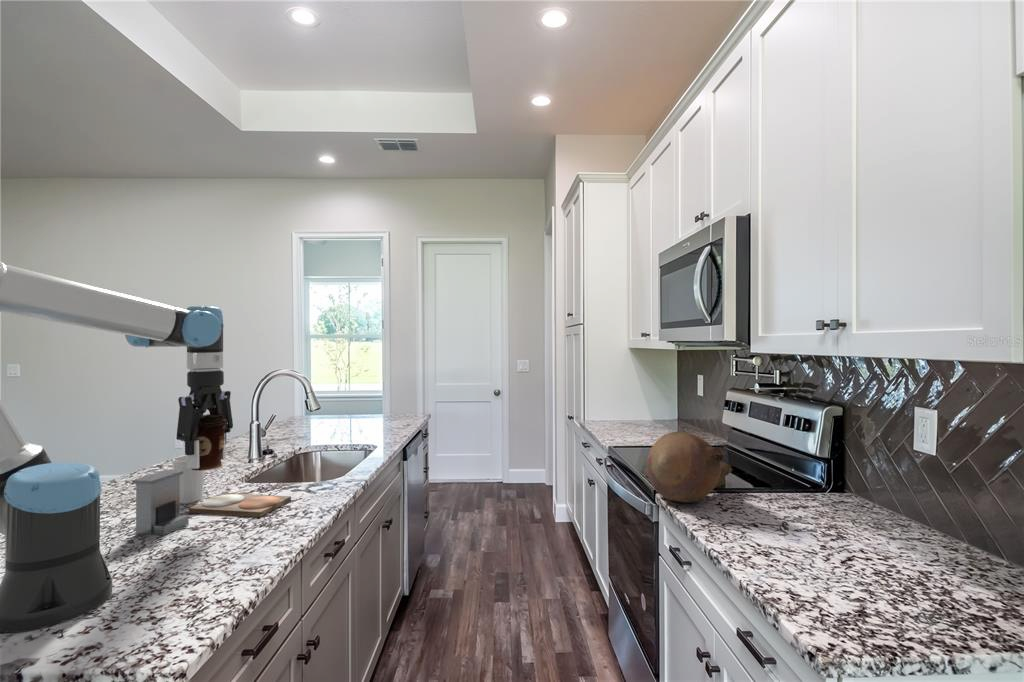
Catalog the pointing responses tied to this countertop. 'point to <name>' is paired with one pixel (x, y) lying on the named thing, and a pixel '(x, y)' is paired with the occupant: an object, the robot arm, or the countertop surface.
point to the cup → (188, 481)
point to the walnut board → (240, 504)
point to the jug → (685, 467)
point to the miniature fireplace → (159, 503)
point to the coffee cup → (211, 441)
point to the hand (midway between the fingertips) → (206, 463)
